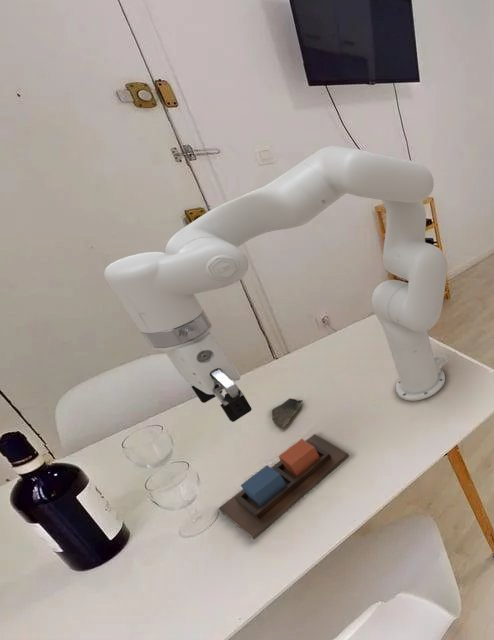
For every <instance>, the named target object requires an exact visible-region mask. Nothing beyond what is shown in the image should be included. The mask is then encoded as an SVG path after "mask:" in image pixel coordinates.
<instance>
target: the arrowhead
mask: <svg viewBox="0 0 494 640" xmlns="http://www.w3.org/2000/svg"><path fill="white" fill-rule="evenodd" d="M302 403H303V399H299V400H297V399H296V398H290V397H289V398H288V399H287V400H285V401H284V402H283V403H282V404H279V405H278V406H276V407H274V408H273V409H271V420H272V421H273V423H274V425H275V426H276V427H278V428H279V429H284V428H285V427H286V426H287V425H288V424H289V423H290V421H291V420H292V418H293V417H294V416H295V415H296V413H297V412H298V411H299V410H300V409H301V407H302Z"/></svg>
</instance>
